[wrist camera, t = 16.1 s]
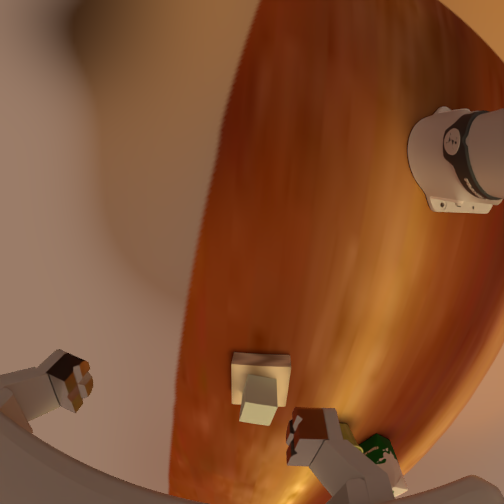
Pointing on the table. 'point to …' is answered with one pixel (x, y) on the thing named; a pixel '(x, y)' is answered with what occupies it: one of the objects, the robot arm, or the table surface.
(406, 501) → the robot arm
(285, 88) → the table surface
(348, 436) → the plant pot
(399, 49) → the table surface
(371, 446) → the milk carton
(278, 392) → the birch block
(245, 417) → the sage block
